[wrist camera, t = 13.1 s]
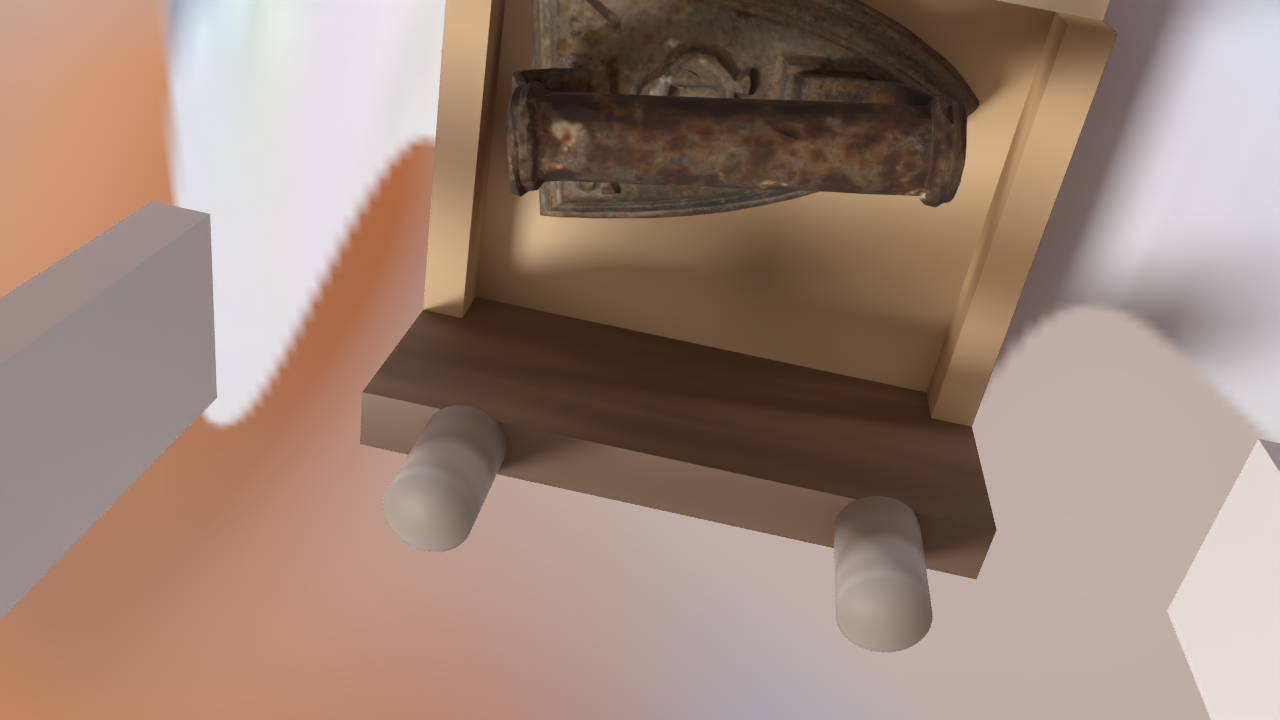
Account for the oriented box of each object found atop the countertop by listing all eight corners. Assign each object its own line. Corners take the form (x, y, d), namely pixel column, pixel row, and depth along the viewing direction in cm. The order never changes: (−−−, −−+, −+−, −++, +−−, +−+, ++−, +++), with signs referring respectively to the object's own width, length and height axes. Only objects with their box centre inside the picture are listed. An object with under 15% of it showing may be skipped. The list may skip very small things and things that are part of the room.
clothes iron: (505, -70, 27) (495, -59, 18) (950, -67, 28) (1161, -55, 19) (515, 209, 29) (511, 346, 20) (921, 202, 31) (1093, 329, 21)
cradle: (517, -507, 23) (332, -682, 14) (1230, -381, 23) (1499, -484, 14) (446, 324, 33) (310, 525, 24) (942, 430, 32) (990, 677, 24)
